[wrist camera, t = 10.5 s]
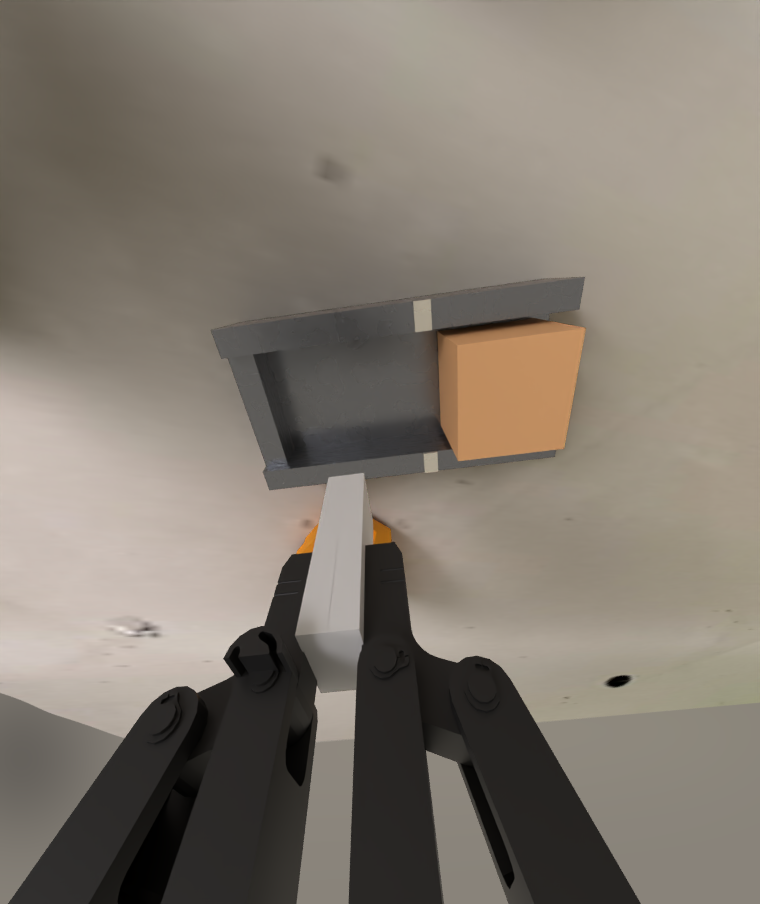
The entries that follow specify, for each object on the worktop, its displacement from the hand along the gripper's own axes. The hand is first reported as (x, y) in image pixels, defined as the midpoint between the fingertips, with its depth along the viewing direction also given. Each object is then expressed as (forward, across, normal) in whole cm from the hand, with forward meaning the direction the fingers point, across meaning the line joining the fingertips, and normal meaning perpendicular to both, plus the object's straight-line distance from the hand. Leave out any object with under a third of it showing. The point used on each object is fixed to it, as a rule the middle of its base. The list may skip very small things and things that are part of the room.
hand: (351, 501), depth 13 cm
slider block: (+17, +11, 0) cm, 20 cm away
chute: (+18, +3, 0) cm, 19 cm away
